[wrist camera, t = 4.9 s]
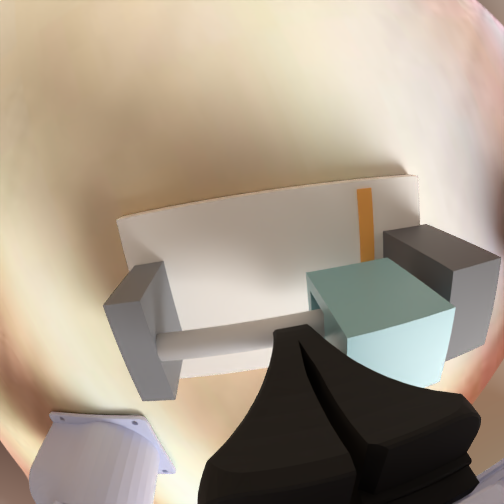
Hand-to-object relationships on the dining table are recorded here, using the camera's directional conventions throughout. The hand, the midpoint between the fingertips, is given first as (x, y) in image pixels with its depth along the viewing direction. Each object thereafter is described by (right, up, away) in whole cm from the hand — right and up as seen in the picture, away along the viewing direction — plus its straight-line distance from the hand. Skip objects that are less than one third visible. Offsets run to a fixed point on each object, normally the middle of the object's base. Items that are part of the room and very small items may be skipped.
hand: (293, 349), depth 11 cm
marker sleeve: (+3, +1, +3) cm, 4 cm away
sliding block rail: (0, +2, +6) cm, 6 cm away
